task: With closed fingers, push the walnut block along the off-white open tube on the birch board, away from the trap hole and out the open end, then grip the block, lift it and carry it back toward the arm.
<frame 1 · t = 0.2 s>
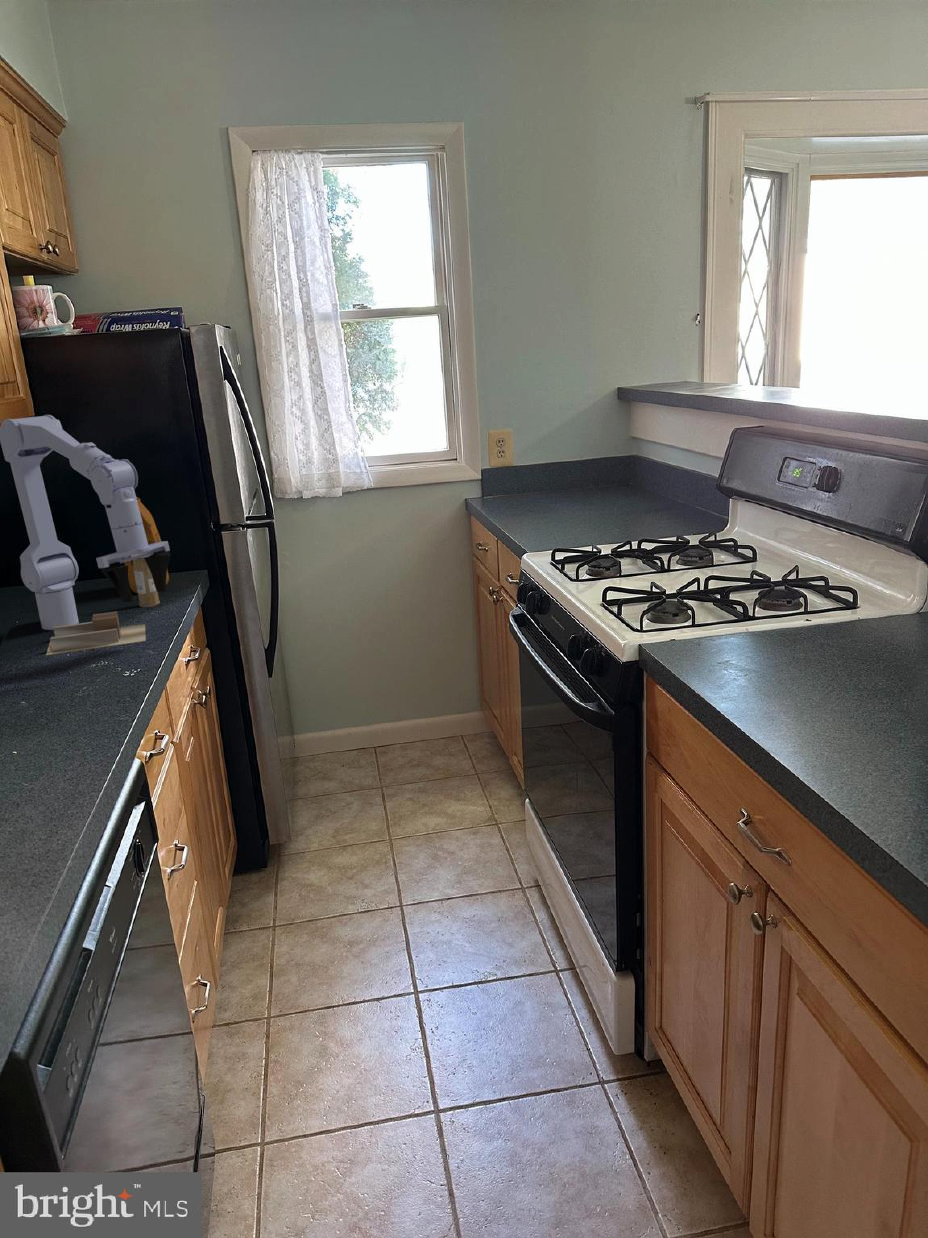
hand: (145, 596, 169), 11 cm above the countertop, tool pointing down, fingers open, 7 cm apart
coffee package: (148, 587, 219), on the countertop
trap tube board: (98, 643, 177), on the countertop
walnut block: (108, 637, 177), point 1 cm above the countertop, touching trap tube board
sprinkles bottle: (149, 605, 202), on the countertop
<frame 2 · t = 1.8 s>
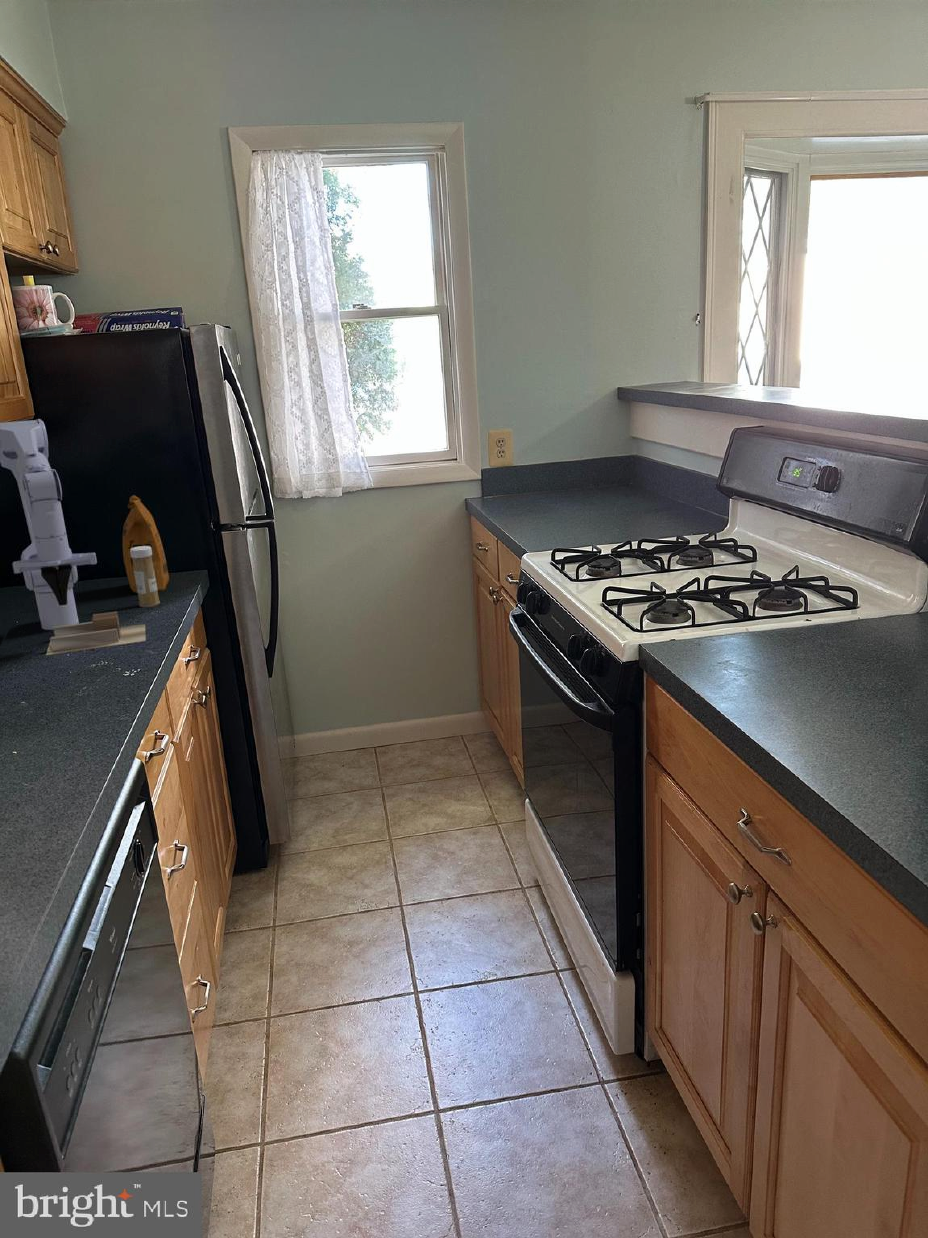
hand: (63, 604, 172), 9 cm above the countertop, tool pointing down, fingers closed
nothing on the countertop moved.
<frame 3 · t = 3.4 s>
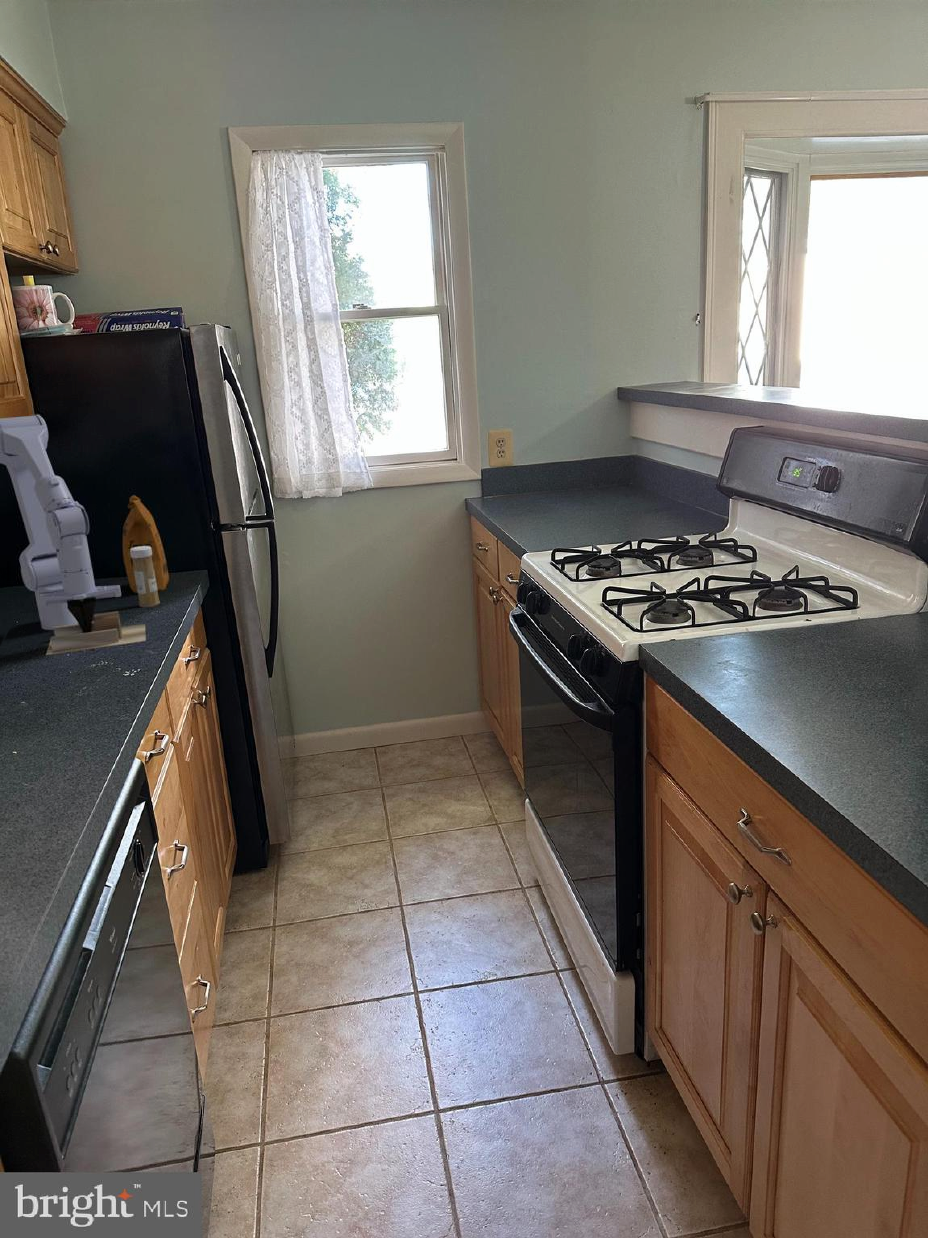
hand: (88, 635, 176), 2 cm above the countertop, tool pointing down, fingers closed
walnut block: (109, 637, 177), point 1 cm above the countertop, touching gripper
everything else where it was.
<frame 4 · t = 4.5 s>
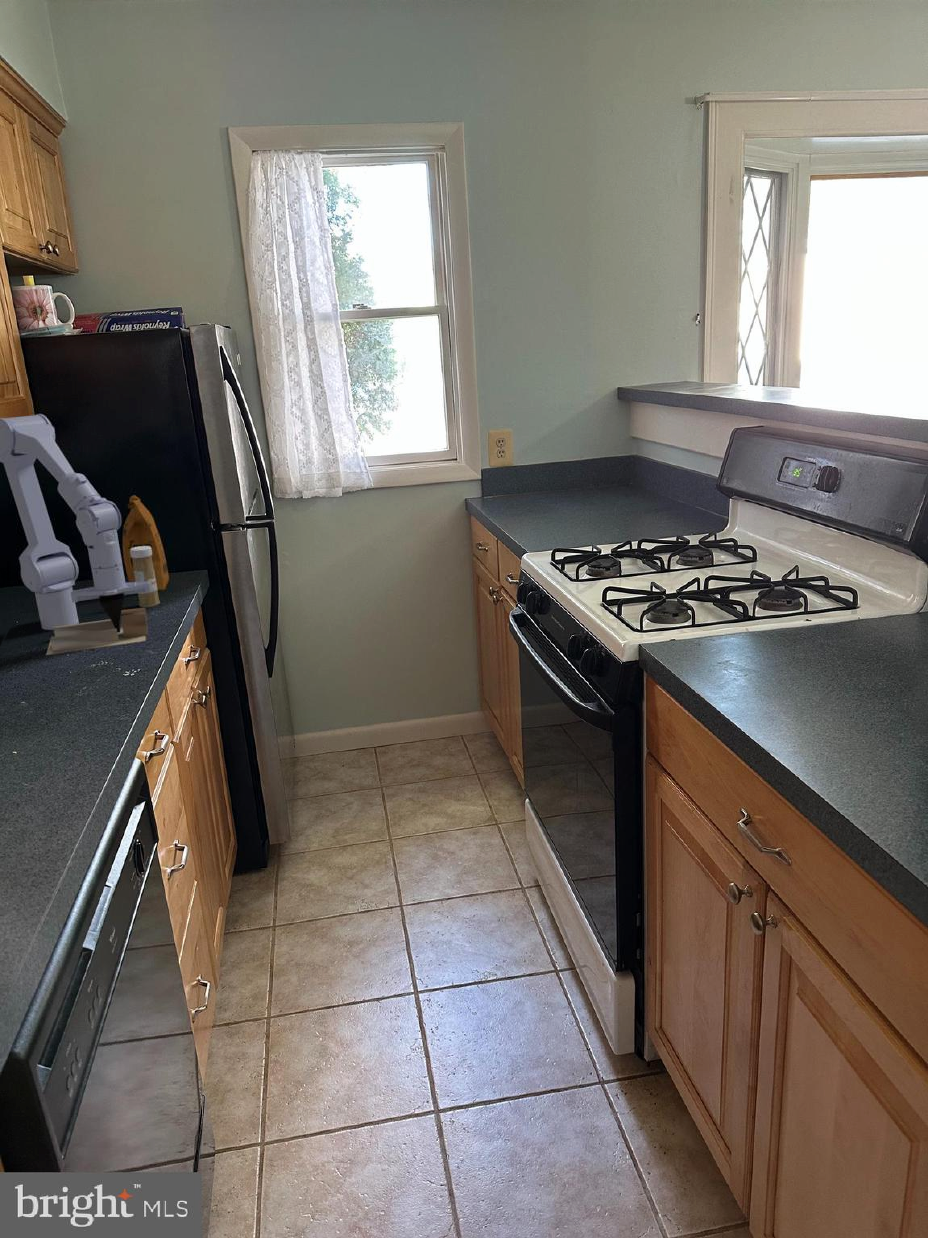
hand: (118, 631, 177), 2 cm above the countertop, tool pointing down, fingers closed
walnut block: (136, 633, 178), point 1 cm above the countertop, touching gripper, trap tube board
everything else where it was.
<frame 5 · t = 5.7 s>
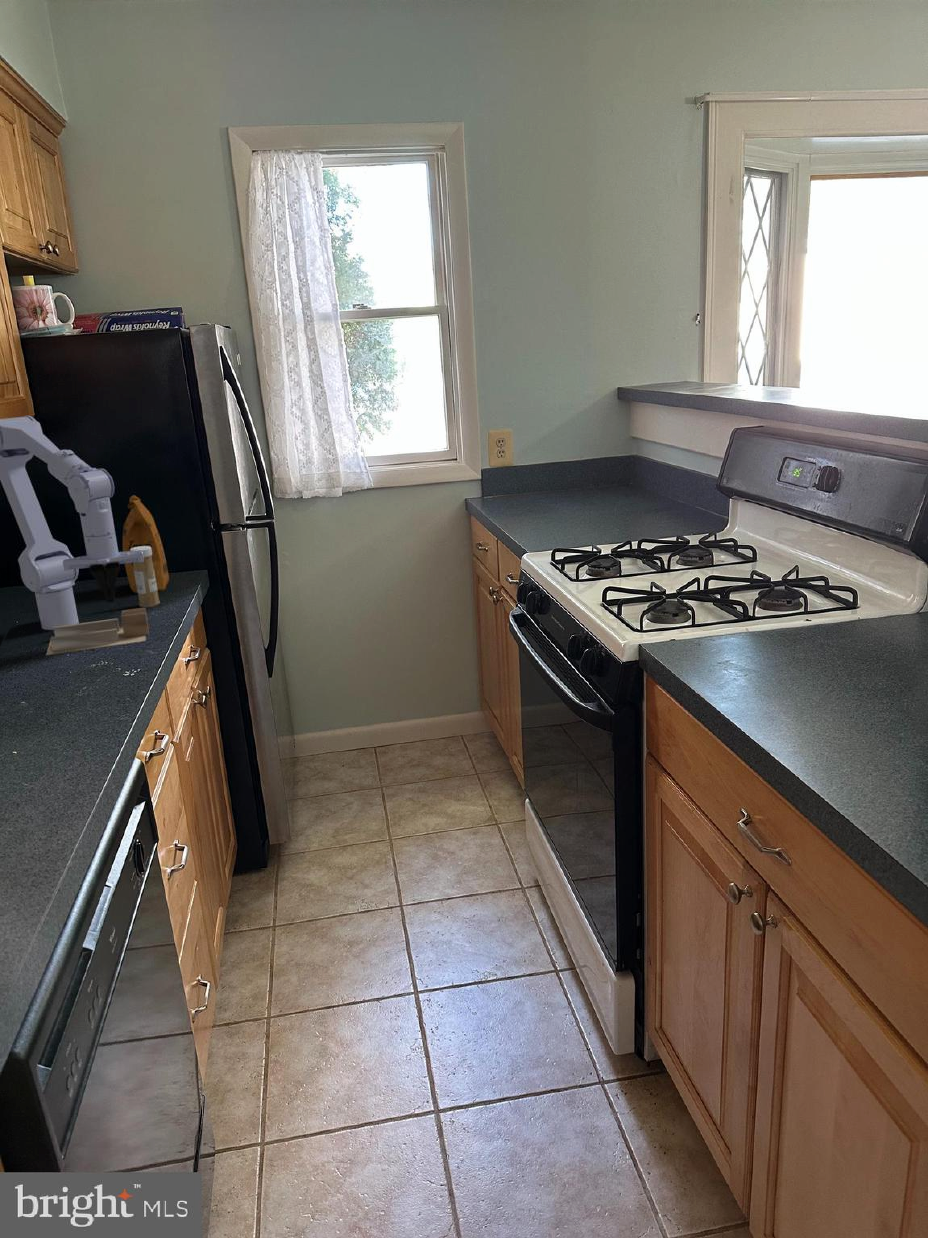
hand: (111, 601, 175), 8 cm above the countertop, tool pointing down, fingers closed
walnut block: (136, 633, 179), point 1 cm above the countertop, touching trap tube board
everything else where it was.
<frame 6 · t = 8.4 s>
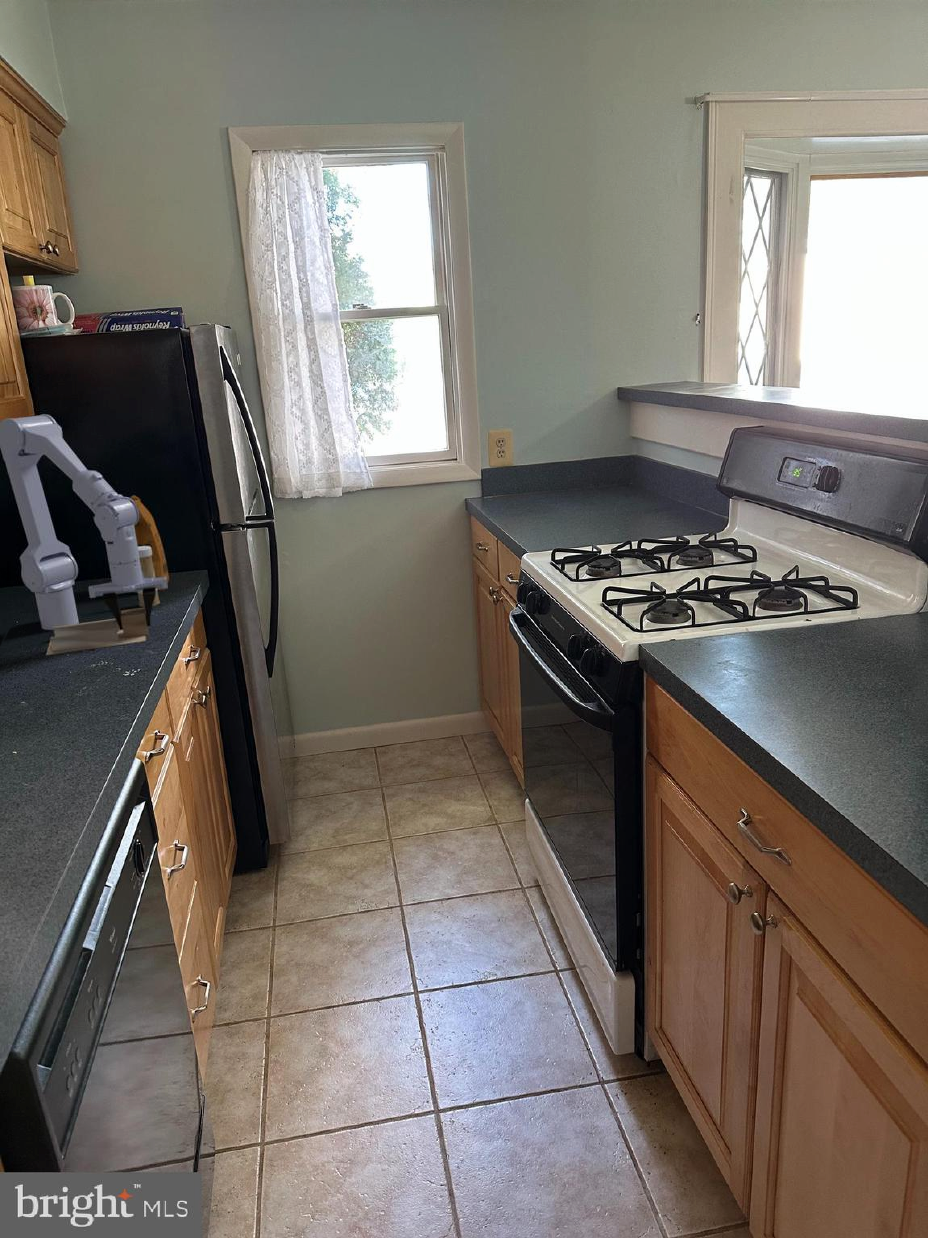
hand: (135, 626, 178), 2 cm above the countertop, tool pointing down, fingers closed on walnut block, 4 cm apart
walnut block: (136, 633, 179), point 1 cm above the countertop, touching gripper, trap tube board
everything else where it was.
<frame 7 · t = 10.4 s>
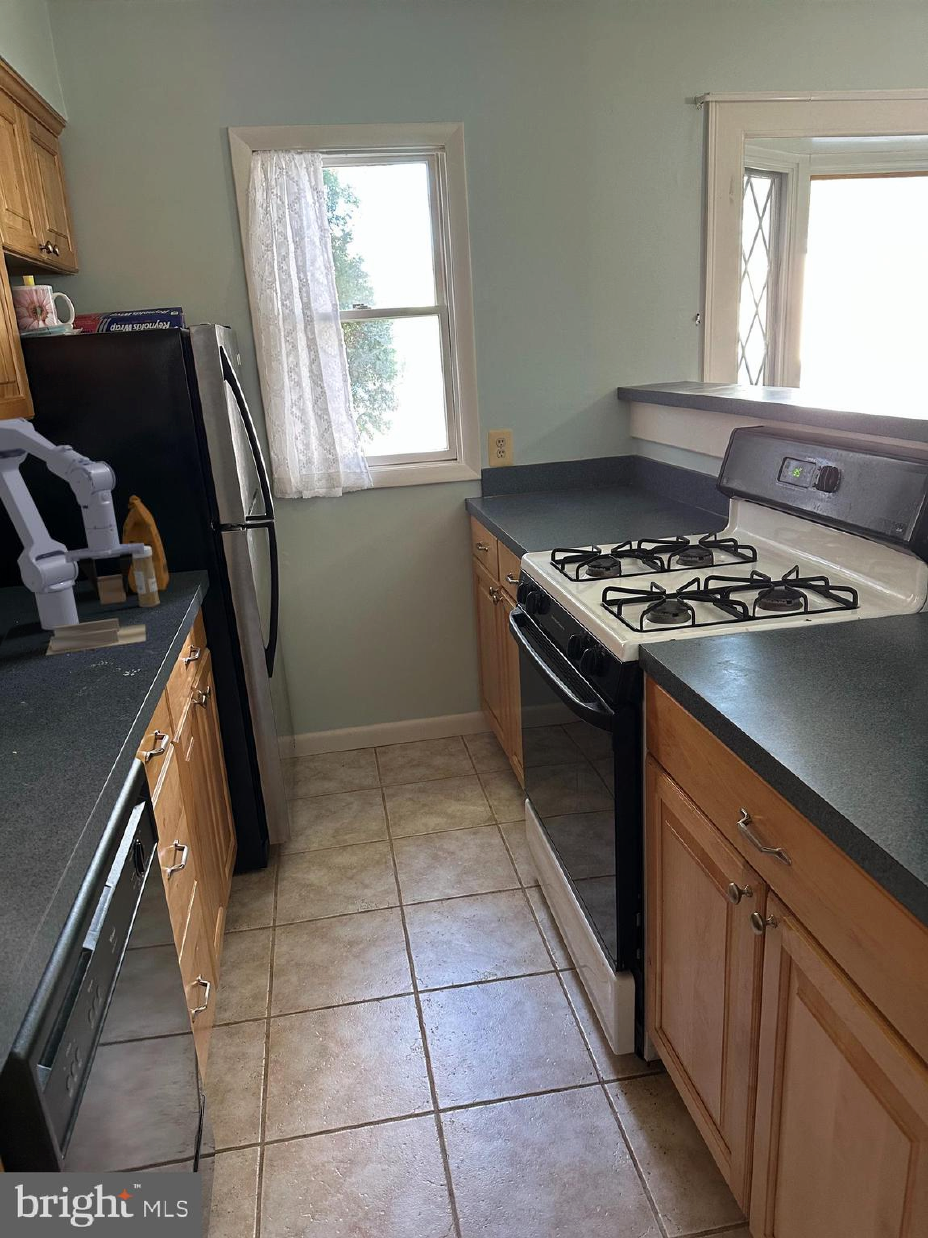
hand: (112, 593, 177), 9 cm above the countertop, tool pointing down, fingers closed on walnut block, 4 cm apart
walnut block: (113, 599, 177), point 8 cm above the countertop, touching gripper
everything else where it was.
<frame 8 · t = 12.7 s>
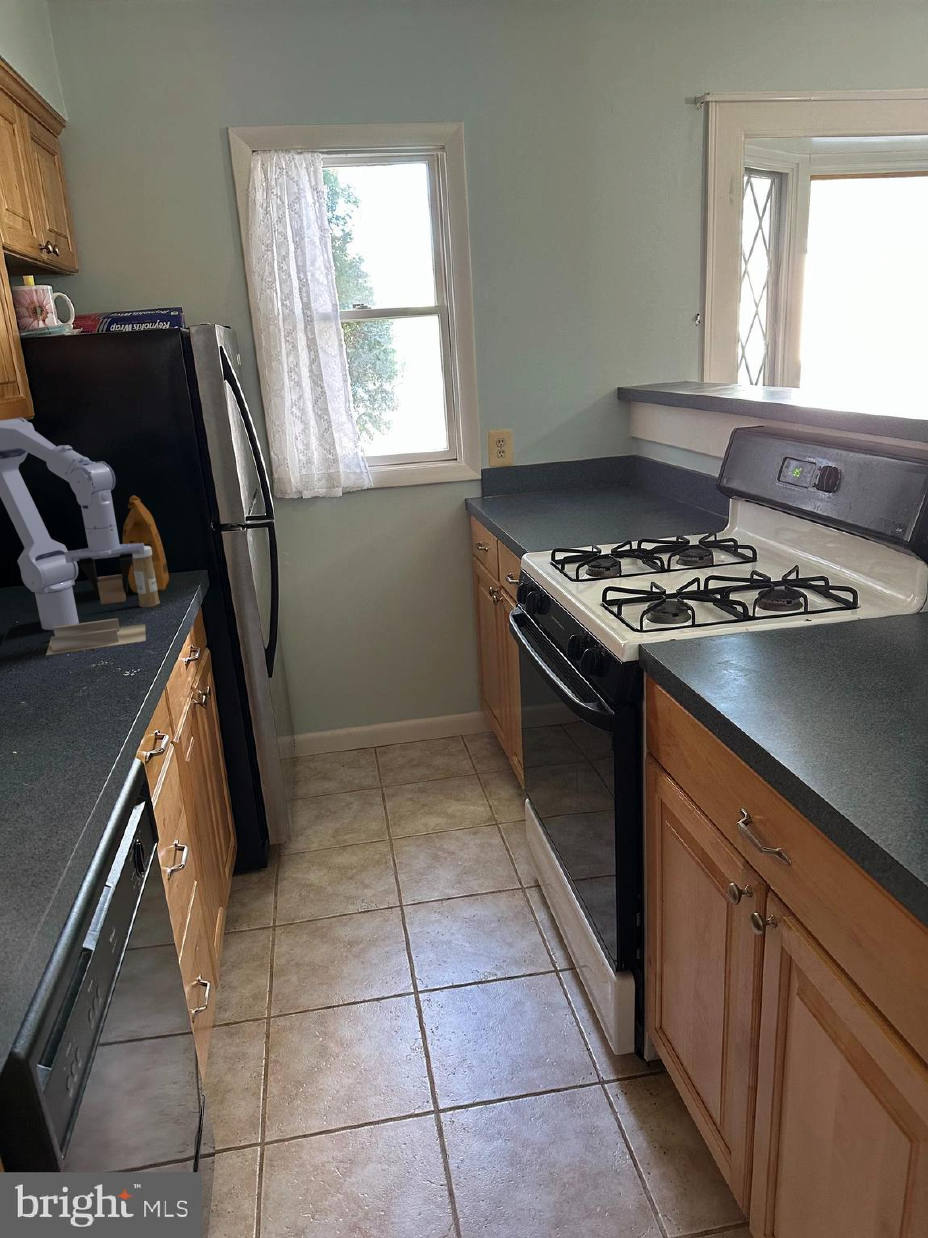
hand: (112, 593, 177), 9 cm above the countertop, tool pointing down, fingers closed on walnut block, 4 cm apart
walnut block: (113, 599, 177), point 8 cm above the countertop, touching gripper
everything else where it was.
at the end: the gripper is holding walnut block; walnut block point 8.0 cm above the countertop; walnut block inside the target area (1.7 cm from its centre), point 8.0 cm above the countertop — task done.
